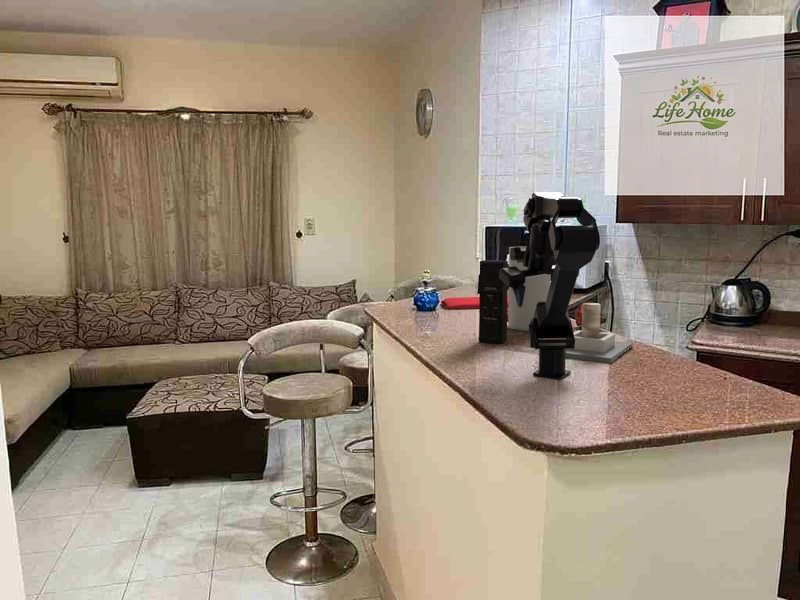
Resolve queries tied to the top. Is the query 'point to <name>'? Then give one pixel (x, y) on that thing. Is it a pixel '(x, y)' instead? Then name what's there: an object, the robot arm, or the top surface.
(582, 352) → the socket board
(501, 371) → the top surface
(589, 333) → the birch pin
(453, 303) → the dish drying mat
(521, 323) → the cylinder vase
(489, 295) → the portable radio
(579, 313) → the dragon fruit
